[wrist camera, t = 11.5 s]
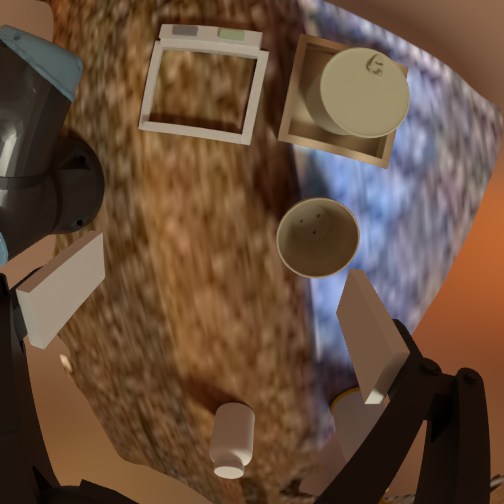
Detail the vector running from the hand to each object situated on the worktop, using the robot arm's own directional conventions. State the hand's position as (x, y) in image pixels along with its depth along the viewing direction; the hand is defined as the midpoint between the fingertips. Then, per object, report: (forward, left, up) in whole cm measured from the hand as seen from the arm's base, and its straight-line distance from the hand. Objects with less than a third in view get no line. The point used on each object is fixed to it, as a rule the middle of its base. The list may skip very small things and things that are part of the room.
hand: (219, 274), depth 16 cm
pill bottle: (+5, -45, -28) cm, 53 cm away
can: (+9, +13, -27) cm, 31 cm away
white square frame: (-9, +11, -27) cm, 31 cm away
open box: (+9, +13, -27) cm, 32 cm away
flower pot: (+9, -4, -28) cm, 29 cm away
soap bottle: (+29, -38, -28) cm, 55 cm away
